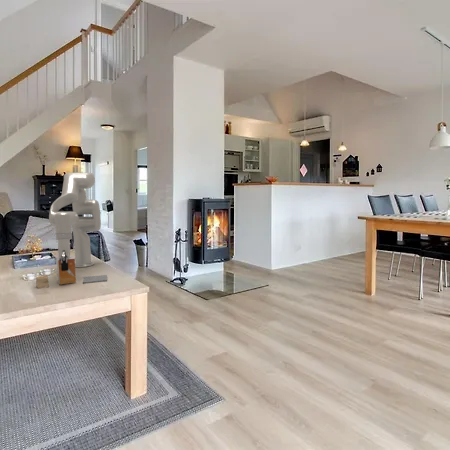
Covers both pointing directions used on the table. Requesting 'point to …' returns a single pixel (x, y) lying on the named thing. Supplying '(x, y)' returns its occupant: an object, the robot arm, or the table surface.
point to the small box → (66, 272)
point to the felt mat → (95, 279)
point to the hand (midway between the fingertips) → (65, 268)
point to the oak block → (42, 281)
